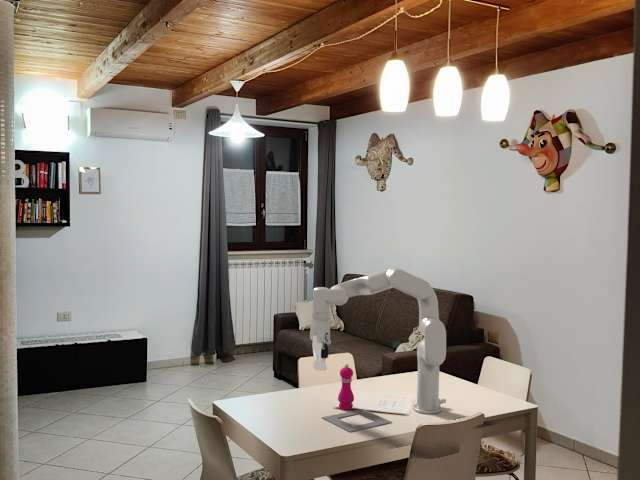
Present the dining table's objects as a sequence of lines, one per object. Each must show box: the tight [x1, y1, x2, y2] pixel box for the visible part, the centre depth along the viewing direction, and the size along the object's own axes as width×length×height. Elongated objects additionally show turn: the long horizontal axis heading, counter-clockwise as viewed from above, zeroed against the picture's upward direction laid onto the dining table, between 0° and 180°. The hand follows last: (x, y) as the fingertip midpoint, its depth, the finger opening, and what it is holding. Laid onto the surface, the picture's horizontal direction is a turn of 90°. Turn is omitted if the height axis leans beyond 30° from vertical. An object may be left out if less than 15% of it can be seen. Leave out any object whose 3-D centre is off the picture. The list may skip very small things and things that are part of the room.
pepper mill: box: [337, 363, 355, 411], centre depth 288 cm, size 7×7×20 cm
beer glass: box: [311, 335, 328, 372], centre depth 281 cm, size 7×7×15 cm
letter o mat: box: [321, 408, 393, 433], centre depth 272 cm, size 22×20×1 cm
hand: (320, 355), depth 281 cm, fingers closed on beer glass, 6 cm apart
